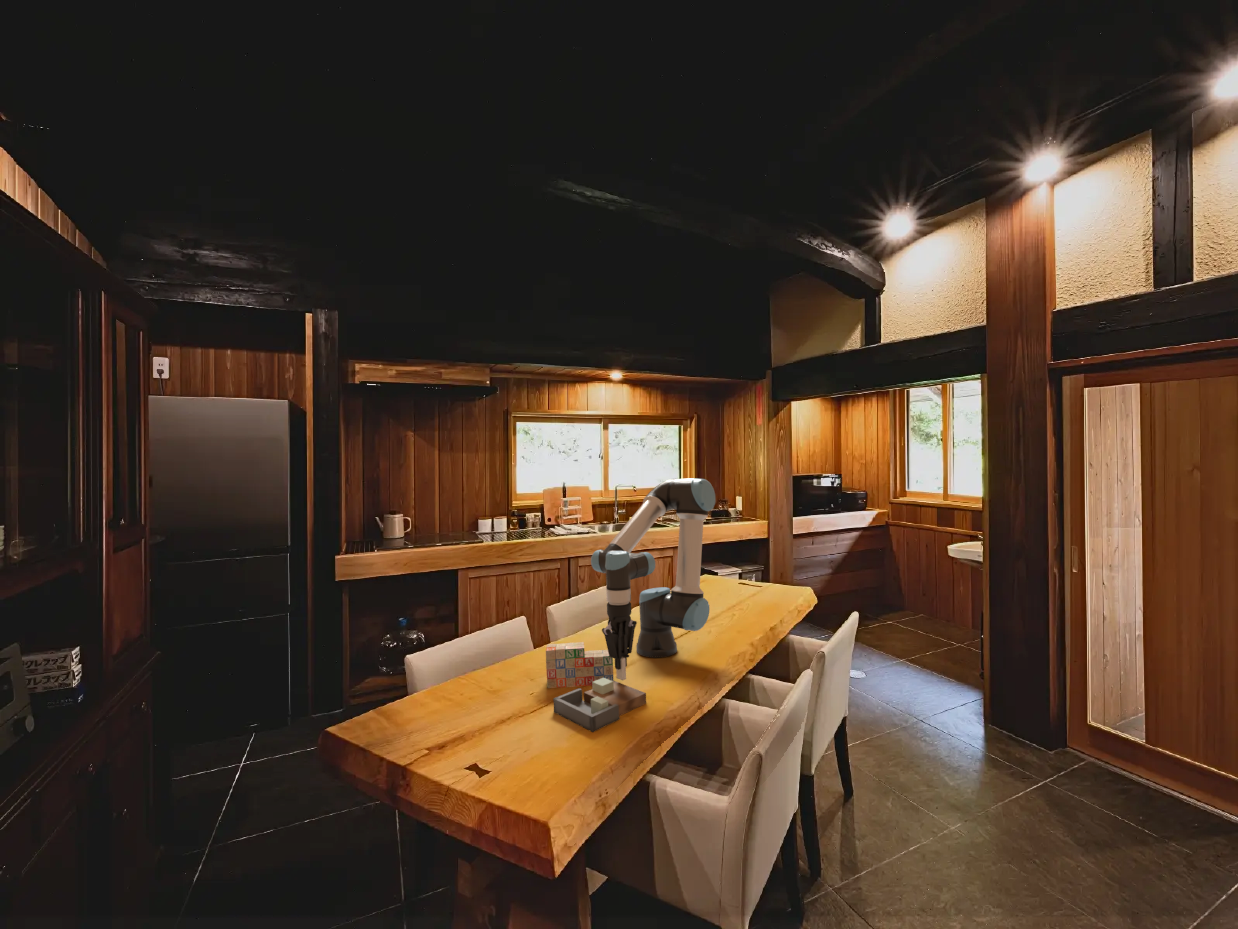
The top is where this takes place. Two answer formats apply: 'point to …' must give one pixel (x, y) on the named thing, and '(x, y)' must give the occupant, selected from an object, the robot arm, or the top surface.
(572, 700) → the tray
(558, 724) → the top surface
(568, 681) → the stack of blocks
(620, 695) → the board
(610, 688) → the tile
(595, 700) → the tile
